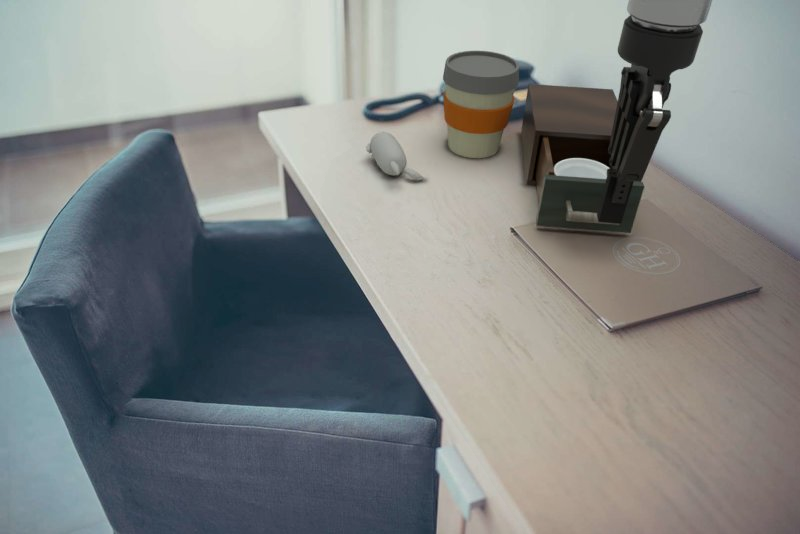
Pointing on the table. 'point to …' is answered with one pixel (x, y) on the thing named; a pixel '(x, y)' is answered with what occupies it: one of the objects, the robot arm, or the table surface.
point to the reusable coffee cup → (478, 100)
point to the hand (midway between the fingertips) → (608, 219)
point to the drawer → (576, 186)
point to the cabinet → (564, 117)
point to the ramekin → (581, 168)
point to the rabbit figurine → (390, 155)
